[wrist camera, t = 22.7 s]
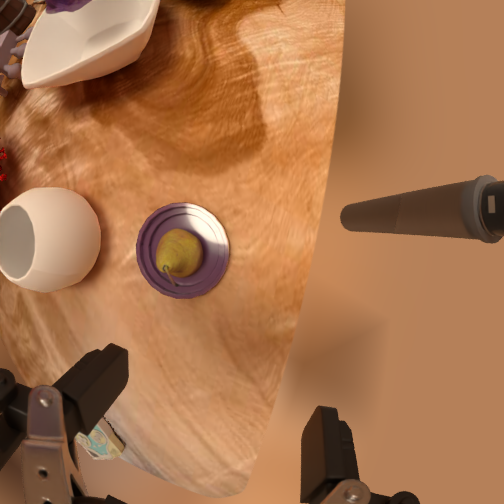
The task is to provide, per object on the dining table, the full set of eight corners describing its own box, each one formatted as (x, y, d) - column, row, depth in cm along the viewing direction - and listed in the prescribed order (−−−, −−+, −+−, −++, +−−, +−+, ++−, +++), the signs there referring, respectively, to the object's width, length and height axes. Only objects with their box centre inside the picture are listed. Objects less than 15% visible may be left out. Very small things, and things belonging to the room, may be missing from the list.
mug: (20, 39, 29) (-13, 13, 14) (-4, 48, 29) (-34, 27, 14) (52, -7, 28) (27, -35, 13) (25, 4, 28) (1, -19, 13)
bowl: (175, -6, 31) (162, -48, 19) (181, 81, 33) (160, 34, 21) (67, 34, 30) (40, 5, 19) (54, 126, 32) (10, 105, 21)
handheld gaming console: (89, 463, 35) (41, 404, 34) (94, 455, 37) (49, 397, 37) (126, 458, 34) (72, 392, 34) (130, 449, 37) (80, 385, 36)
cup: (71, 174, 33) (11, 158, 20) (128, 228, 34) (72, 229, 21) (34, 244, 34) (-25, 251, 21) (84, 300, 35) (27, 327, 22)
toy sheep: (24, 121, 32) (-25, 100, 18) (-7, 133, 32) (-51, 119, 18) (52, 37, 30) (19, 6, 17) (19, 53, 30) (-14, 29, 16)
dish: (240, 218, 35) (240, 217, 32) (216, 304, 36) (214, 310, 33) (156, 195, 34) (149, 192, 31) (136, 278, 35) (127, 282, 32)
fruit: (203, 225, 34) (181, 224, 22) (208, 271, 35) (190, 294, 23) (160, 231, 34) (121, 233, 22) (166, 275, 35) (130, 298, 23)
